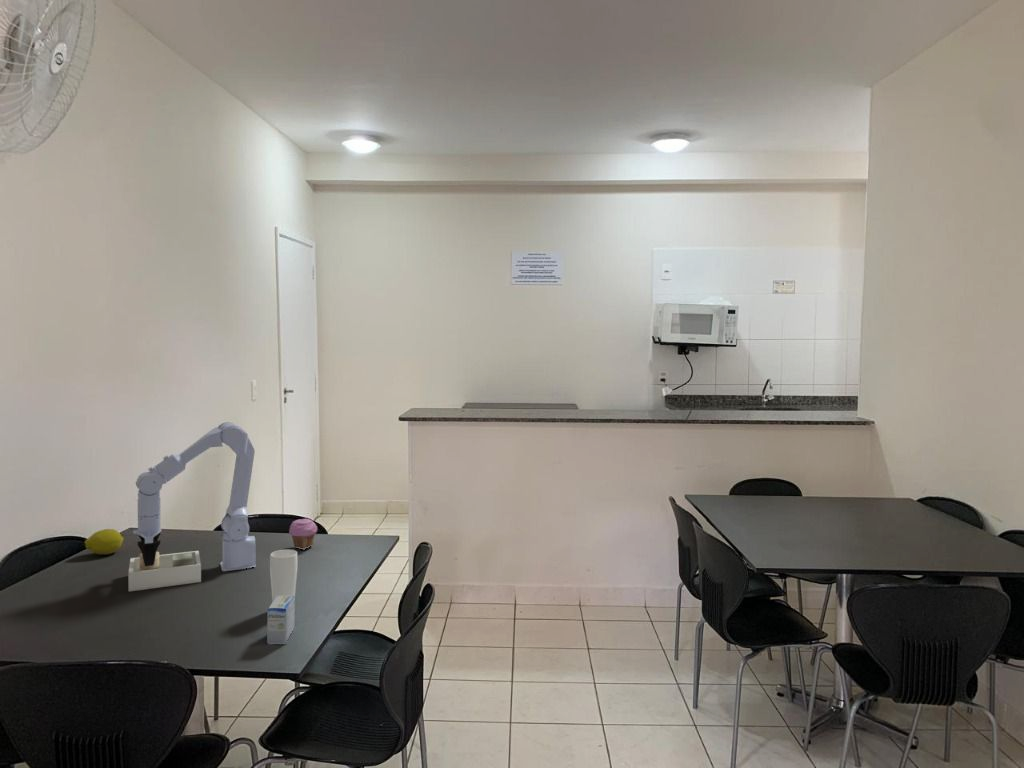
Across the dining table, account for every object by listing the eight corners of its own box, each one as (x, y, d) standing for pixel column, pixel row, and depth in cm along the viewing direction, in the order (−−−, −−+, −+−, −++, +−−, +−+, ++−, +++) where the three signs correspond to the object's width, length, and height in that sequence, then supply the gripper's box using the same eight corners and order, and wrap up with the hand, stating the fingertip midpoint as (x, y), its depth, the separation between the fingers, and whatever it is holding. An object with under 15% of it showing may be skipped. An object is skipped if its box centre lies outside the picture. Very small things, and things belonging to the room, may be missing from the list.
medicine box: (276, 630, 160) (276, 595, 159) (295, 630, 160) (295, 595, 160) (266, 645, 152) (266, 608, 152) (286, 644, 153) (286, 608, 152)
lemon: (122, 548, 218) (122, 524, 217) (126, 554, 211) (126, 530, 211) (83, 554, 211) (83, 529, 211) (86, 561, 205) (85, 535, 204)
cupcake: (305, 553, 217) (305, 523, 216) (283, 550, 220) (283, 520, 219) (322, 546, 225) (322, 517, 224) (301, 543, 228) (301, 514, 228)
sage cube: (191, 569, 197) (191, 553, 197) (192, 575, 193) (192, 558, 193) (172, 572, 195) (172, 555, 195) (173, 577, 190) (173, 560, 190)
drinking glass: (271, 617, 167) (271, 558, 166) (268, 607, 173) (268, 551, 172) (299, 612, 170) (299, 555, 169) (294, 603, 176) (295, 547, 175)
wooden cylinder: (159, 573, 193) (159, 550, 193) (159, 579, 189) (159, 555, 188) (139, 576, 191) (139, 552, 191) (139, 581, 187) (138, 557, 186)
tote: (198, 566, 202) (198, 550, 202) (201, 581, 190) (200, 564, 190) (130, 575, 194) (130, 558, 193) (128, 591, 181) (128, 573, 181)
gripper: (133, 509, 193) (134, 555, 194) (132, 522, 180) (132, 571, 181) (161, 507, 197) (161, 552, 197) (161, 519, 184) (161, 567, 185)
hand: (149, 561), depth 190 cm, fingers open, 7 cm apart
